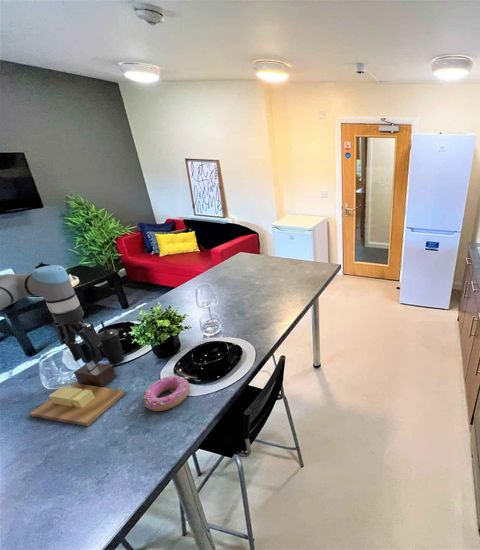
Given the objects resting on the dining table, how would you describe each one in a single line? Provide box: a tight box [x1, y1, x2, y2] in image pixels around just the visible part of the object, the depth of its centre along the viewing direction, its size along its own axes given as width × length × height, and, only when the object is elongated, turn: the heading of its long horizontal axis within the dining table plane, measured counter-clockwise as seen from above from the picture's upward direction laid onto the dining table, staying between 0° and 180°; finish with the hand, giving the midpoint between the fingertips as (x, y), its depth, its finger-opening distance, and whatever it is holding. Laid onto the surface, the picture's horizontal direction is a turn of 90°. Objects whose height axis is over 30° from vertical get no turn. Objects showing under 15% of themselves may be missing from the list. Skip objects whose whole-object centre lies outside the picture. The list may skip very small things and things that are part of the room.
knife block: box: [73, 362, 117, 388], centre depth 113 cm, size 10×6×6 cm, turn 82°
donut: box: [141, 375, 190, 412], centre depth 107 cm, size 14×14×5 cm
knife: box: [75, 340, 98, 372], centre depth 110 cm, size 2×3×18 cm
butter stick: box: [48, 385, 83, 406], centre depth 103 cm, size 8×5×4 cm, turn 82°
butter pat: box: [72, 390, 95, 408], centre depth 102 cm, size 3×5×4 cm, turn 172°
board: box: [29, 382, 126, 427], centre depth 103 cm, size 22×14×2 cm, turn 82°
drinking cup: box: [97, 320, 125, 365], centre depth 120 cm, size 8×8×20 cm
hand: (89, 359), depth 110 cm, fingers open, 8 cm apart
